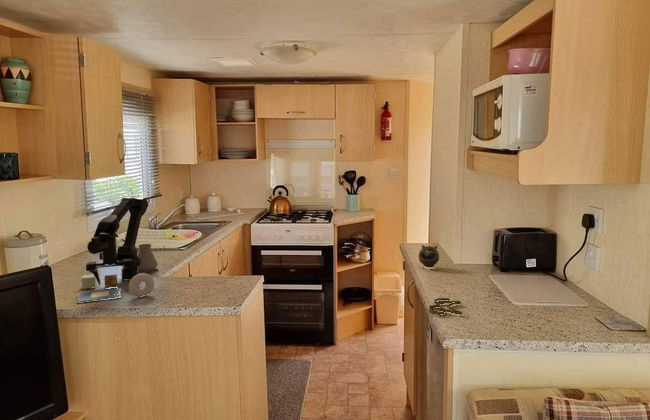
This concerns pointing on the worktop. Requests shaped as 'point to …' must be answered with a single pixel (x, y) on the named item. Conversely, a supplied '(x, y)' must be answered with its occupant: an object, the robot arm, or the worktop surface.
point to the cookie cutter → (443, 308)
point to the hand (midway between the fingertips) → (111, 283)
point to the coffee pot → (146, 258)
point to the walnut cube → (110, 281)
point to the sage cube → (88, 281)
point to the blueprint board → (98, 294)
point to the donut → (139, 278)
